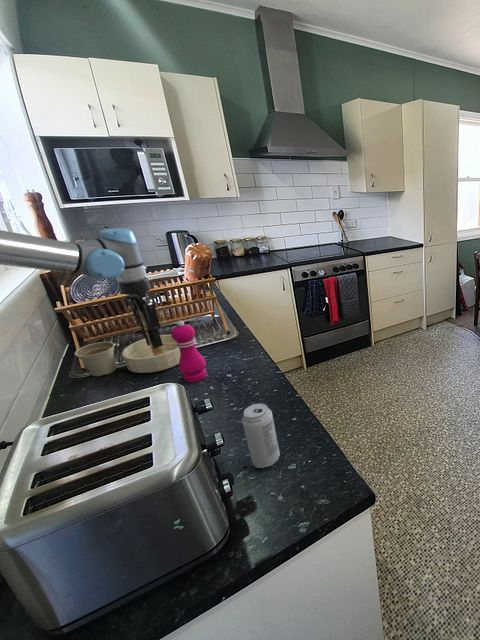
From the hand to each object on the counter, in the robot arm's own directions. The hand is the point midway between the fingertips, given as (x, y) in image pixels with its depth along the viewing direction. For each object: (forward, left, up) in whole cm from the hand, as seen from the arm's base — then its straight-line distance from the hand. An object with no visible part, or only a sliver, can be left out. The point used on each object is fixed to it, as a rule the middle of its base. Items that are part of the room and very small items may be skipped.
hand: (155, 345), depth 118 cm
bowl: (0, 0, -6) cm, 6 cm away
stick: (0, 0, -5) cm, 5 cm away
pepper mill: (+1, -20, -6) cm, 21 cm away
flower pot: (-13, +8, -6) cm, 16 cm away
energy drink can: (-10, -69, -6) cm, 70 cm away
